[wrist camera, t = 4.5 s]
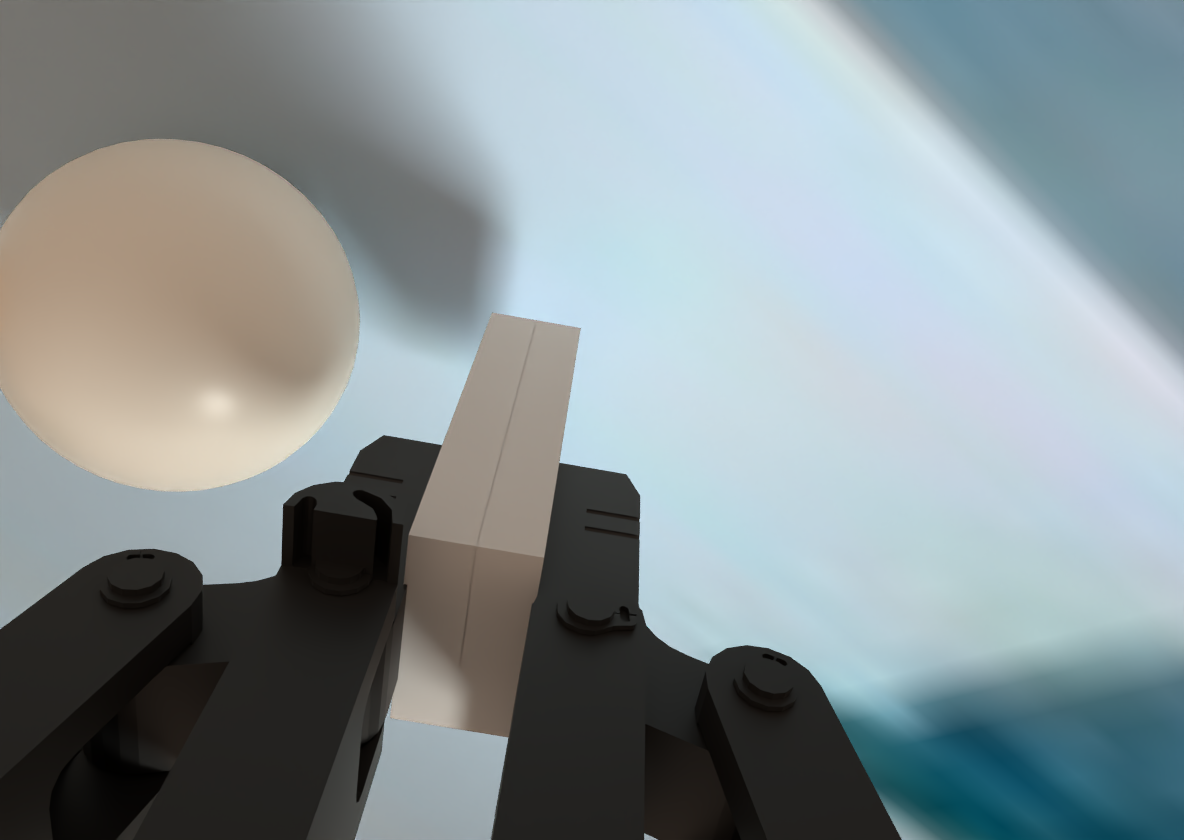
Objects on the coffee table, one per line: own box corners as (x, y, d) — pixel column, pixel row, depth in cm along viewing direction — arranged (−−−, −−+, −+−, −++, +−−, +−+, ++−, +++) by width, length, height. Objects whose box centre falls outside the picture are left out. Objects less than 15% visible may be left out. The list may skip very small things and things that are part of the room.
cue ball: (-149, 459, 13) (-16, 316, 18) (246, 612, 15) (270, 449, 20) (30, 93, 12) (122, 45, 17) (435, 319, 14) (413, 219, 19)
